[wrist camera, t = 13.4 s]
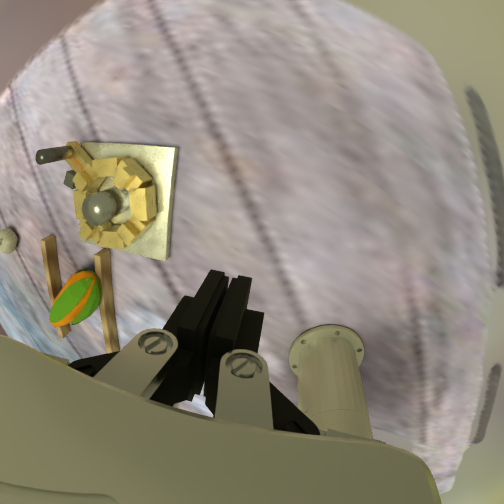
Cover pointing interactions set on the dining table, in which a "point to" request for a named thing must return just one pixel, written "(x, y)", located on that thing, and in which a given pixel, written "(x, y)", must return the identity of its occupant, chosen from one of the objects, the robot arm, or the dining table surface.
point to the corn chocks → (106, 292)
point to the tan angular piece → (125, 178)
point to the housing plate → (118, 202)
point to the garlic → (7, 241)
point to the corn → (76, 299)
